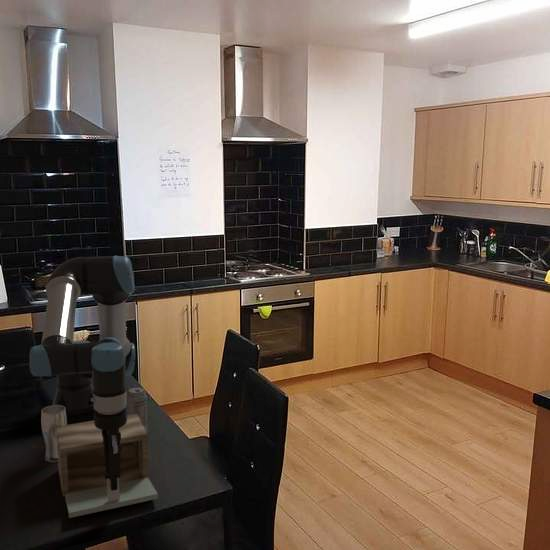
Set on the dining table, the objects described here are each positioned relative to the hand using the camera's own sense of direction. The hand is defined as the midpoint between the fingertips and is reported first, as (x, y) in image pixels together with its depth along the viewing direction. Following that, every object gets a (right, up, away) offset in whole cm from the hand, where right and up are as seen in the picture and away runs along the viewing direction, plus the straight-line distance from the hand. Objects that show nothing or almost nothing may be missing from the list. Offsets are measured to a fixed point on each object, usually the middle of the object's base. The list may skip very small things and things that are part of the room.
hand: (113, 499), depth 141 cm
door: (-4, -1, +10) cm, 11 cm away
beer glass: (-25, +1, +28) cm, 38 cm away
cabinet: (-8, -1, +18) cm, 19 cm away
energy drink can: (-4, +4, +44) cm, 44 cm away
